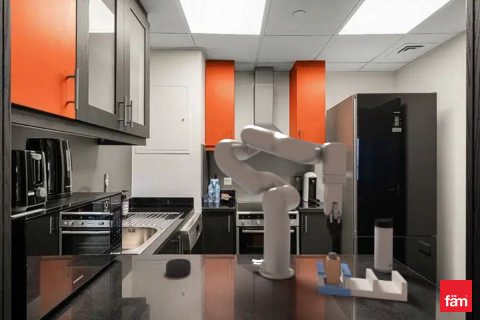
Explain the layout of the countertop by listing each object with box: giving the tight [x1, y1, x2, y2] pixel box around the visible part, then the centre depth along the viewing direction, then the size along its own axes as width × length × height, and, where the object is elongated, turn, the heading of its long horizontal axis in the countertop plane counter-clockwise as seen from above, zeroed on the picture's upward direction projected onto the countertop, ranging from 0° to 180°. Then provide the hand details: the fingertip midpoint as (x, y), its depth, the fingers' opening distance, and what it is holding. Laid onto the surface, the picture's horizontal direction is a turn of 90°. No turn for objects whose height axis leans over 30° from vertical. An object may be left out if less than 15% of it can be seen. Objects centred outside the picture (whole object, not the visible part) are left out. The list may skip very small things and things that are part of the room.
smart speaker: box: [165, 258, 192, 277], centre depth 109 cm, size 9×9×4 cm
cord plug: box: [325, 251, 341, 285], centre depth 98 cm, size 4×4×11 cm
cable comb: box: [316, 260, 408, 302], centre depth 96 cm, size 26×11×6 cm, turn 78°
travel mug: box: [373, 217, 395, 274], centre depth 115 cm, size 6×7×20 cm
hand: (332, 232), depth 98 cm, fingers open, 9 cm apart
